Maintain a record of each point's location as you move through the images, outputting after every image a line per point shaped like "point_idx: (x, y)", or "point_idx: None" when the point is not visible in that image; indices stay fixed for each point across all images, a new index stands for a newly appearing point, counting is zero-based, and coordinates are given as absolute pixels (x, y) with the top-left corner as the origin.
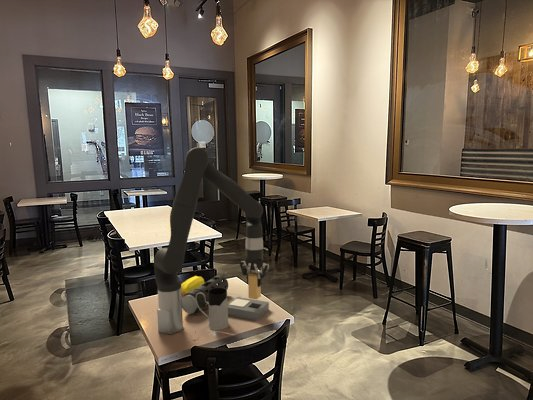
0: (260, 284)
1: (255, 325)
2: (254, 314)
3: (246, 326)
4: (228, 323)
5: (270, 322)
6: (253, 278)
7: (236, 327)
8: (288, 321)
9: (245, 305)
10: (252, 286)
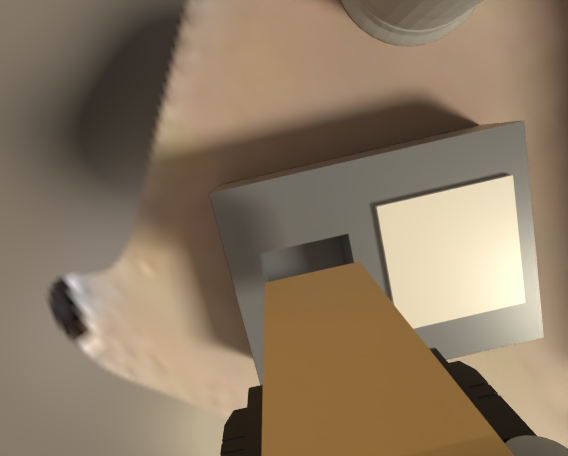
0: (229, 426)
1: (192, 130)
2: (238, 185)
3: (234, 79)
4: (359, 9)
5: (139, 229)
6: (341, 440)
7: (284, 21)
8: (53, 310)
9: (382, 246)
10: (335, 336)
